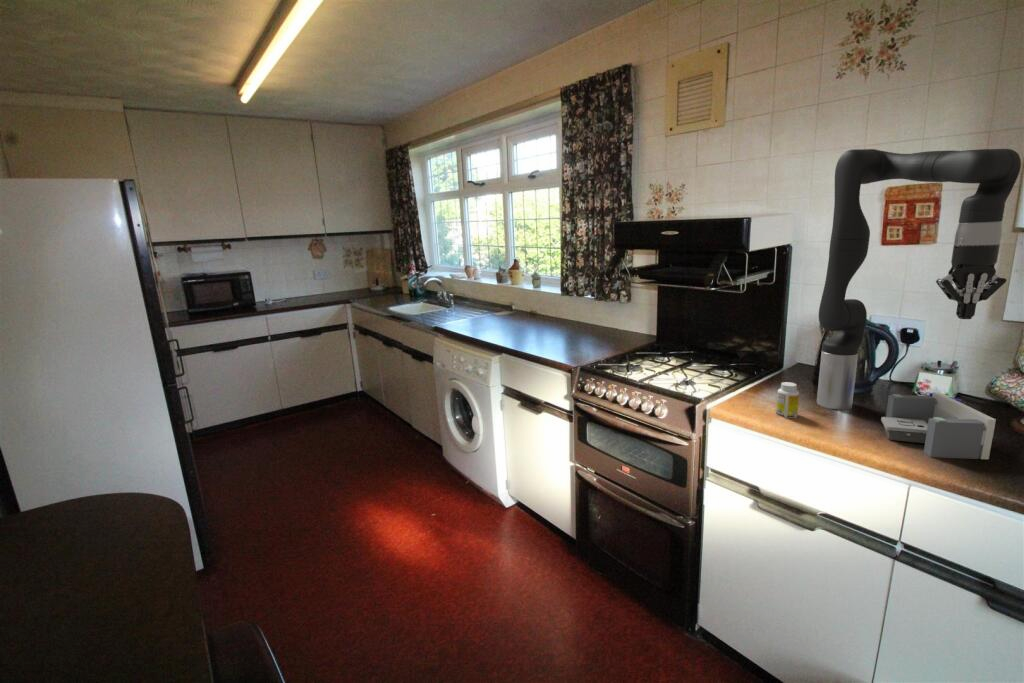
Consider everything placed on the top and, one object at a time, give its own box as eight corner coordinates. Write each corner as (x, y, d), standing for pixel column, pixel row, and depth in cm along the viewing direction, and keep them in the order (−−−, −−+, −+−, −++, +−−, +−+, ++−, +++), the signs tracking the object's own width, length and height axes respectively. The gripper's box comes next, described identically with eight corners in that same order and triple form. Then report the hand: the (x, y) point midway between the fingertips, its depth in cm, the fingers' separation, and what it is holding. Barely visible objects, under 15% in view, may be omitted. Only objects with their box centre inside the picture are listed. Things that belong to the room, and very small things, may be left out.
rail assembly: (884, 425, 133) (889, 391, 131) (933, 426, 131) (939, 392, 129) (930, 457, 115) (936, 418, 112) (988, 459, 112) (996, 419, 110)
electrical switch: (934, 431, 118) (888, 420, 123) (928, 450, 120) (883, 439, 124) (926, 420, 126) (883, 410, 131) (920, 438, 128) (877, 428, 132)
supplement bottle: (798, 415, 143) (801, 383, 141) (794, 421, 139) (797, 388, 137) (778, 411, 147) (780, 380, 144) (773, 417, 143) (776, 384, 140)
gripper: (998, 241, 109) (985, 315, 113) (931, 243, 112) (921, 316, 116) (1025, 242, 102) (1011, 321, 106) (954, 244, 105) (942, 322, 109)
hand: (964, 318), depth 111 cm, fingers closed
